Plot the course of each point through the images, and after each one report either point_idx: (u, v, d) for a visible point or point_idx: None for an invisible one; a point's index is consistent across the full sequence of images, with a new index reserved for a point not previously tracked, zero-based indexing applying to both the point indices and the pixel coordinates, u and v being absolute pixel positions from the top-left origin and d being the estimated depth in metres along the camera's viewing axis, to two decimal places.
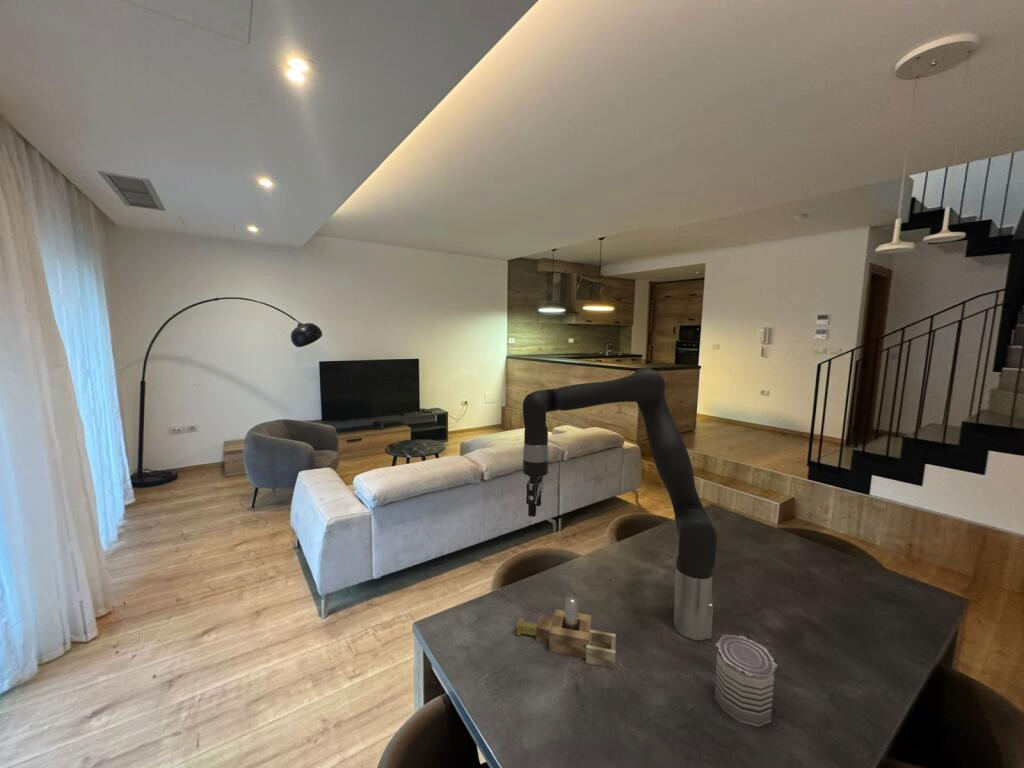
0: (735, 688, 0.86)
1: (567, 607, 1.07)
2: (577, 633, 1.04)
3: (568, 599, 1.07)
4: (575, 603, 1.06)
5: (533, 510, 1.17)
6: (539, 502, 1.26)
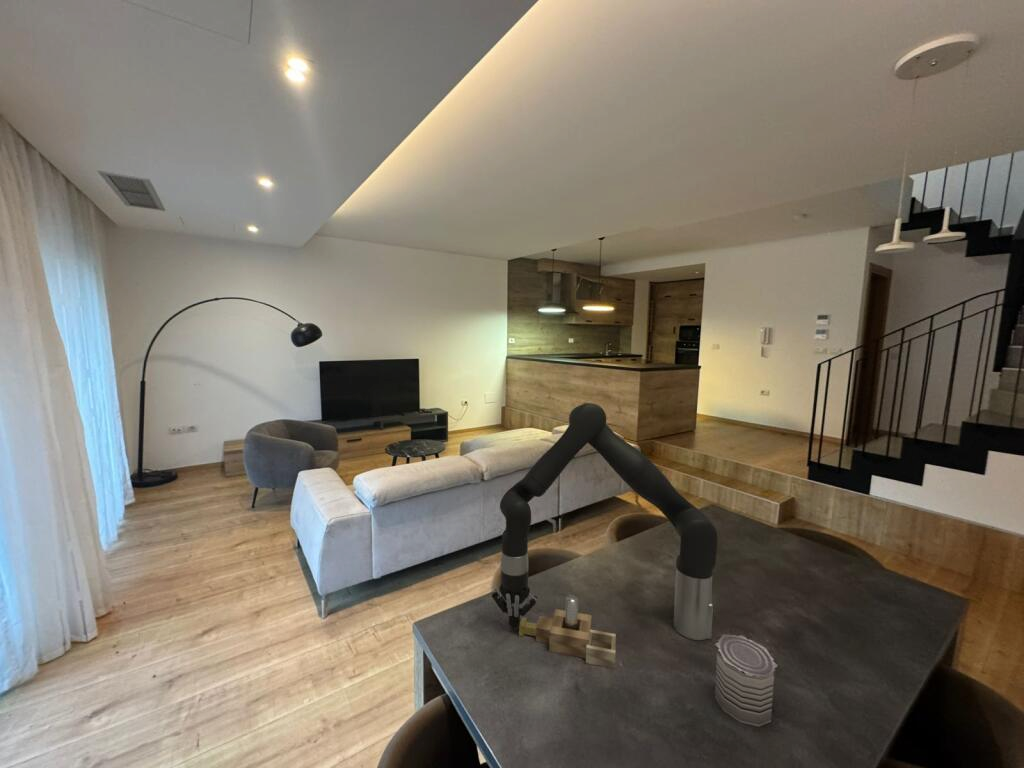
0: (735, 688, 0.86)
1: (567, 607, 1.07)
2: (577, 633, 1.04)
3: (568, 599, 1.07)
4: (575, 603, 1.06)
5: (519, 619, 1.13)
6: None
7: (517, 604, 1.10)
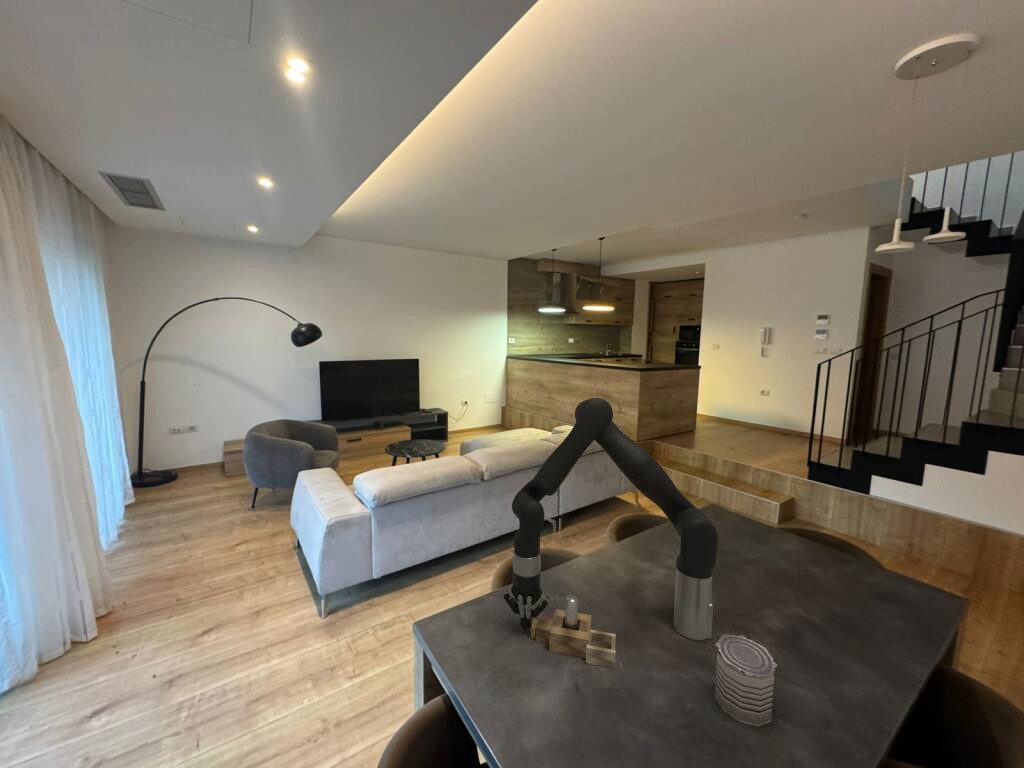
0: (735, 688, 0.86)
1: (567, 607, 1.07)
2: (577, 633, 1.04)
3: (568, 599, 1.07)
4: (575, 603, 1.06)
5: (531, 620, 1.12)
6: None
7: (529, 605, 1.09)
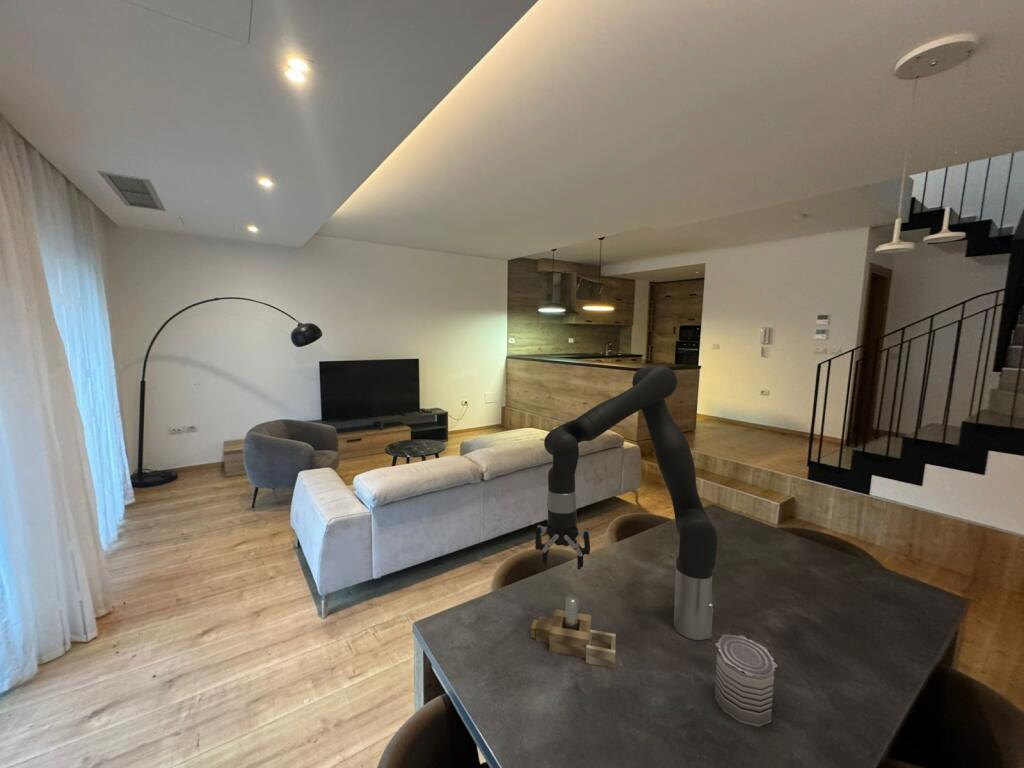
0: (735, 688, 0.86)
1: (567, 607, 1.07)
2: (577, 633, 1.04)
3: (568, 599, 1.07)
4: (575, 603, 1.06)
5: None
6: (548, 559, 1.09)
7: (572, 543, 1.05)
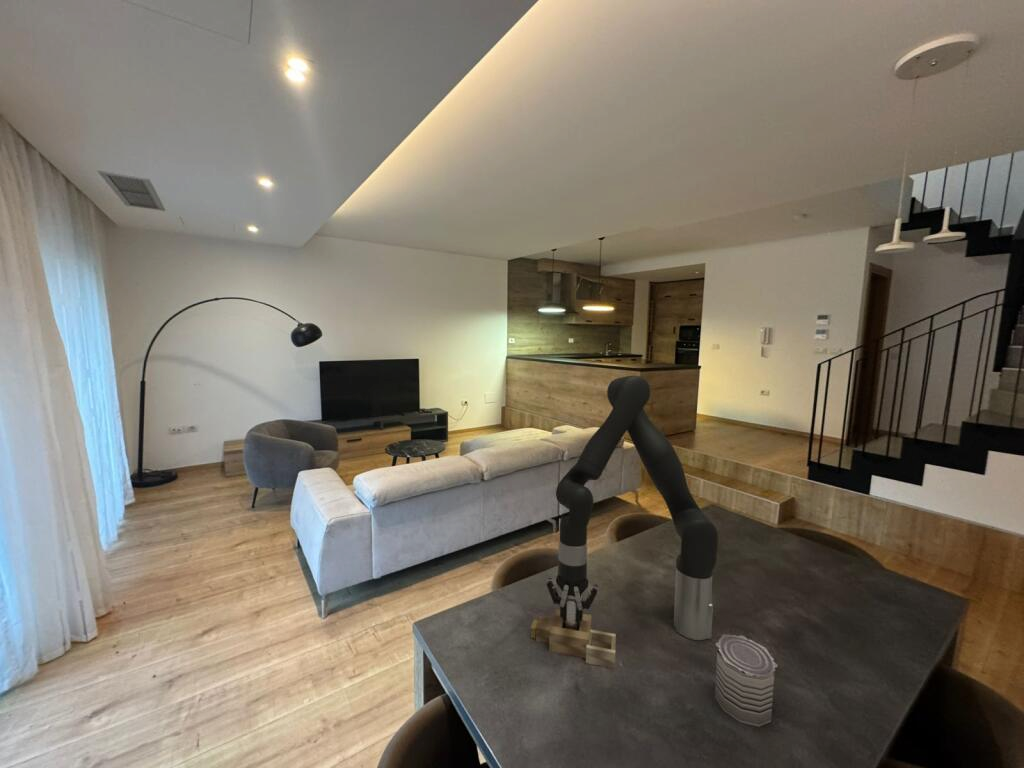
0: (735, 688, 0.86)
1: (567, 607, 1.07)
2: (577, 633, 1.04)
3: (568, 599, 1.07)
4: (575, 603, 1.06)
5: None
6: None
7: (578, 596, 1.05)
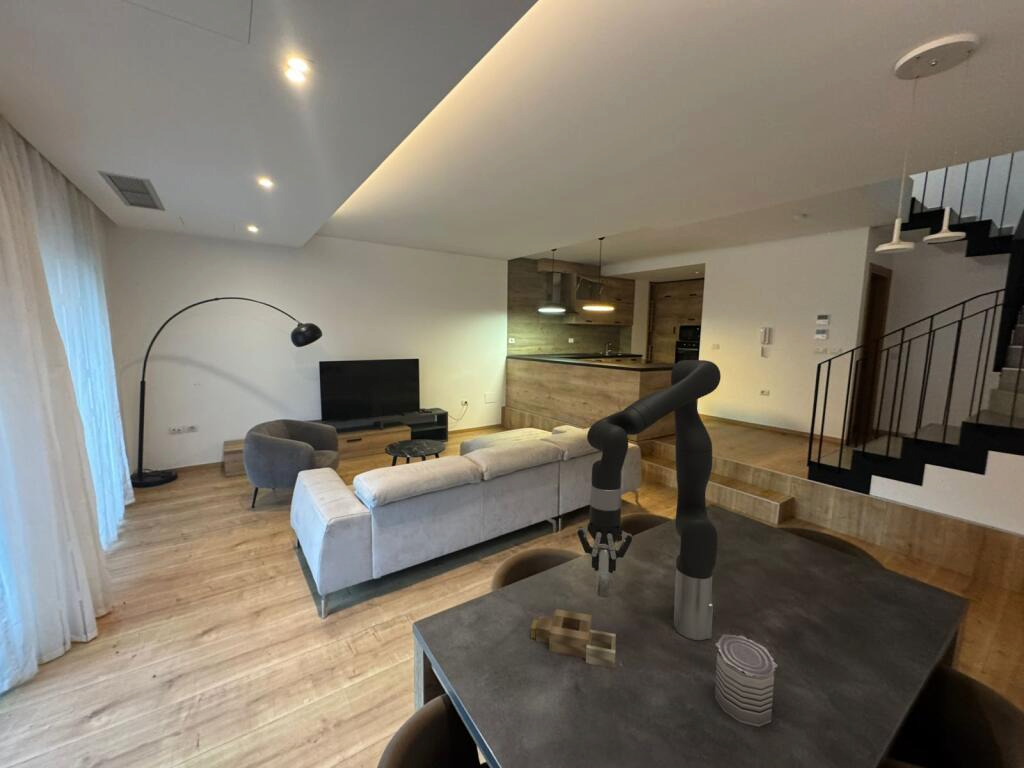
0: (735, 688, 0.86)
1: (600, 556, 1.01)
2: (577, 633, 1.04)
3: (600, 548, 1.01)
4: (608, 552, 1.00)
5: None
6: None
7: (612, 544, 0.99)
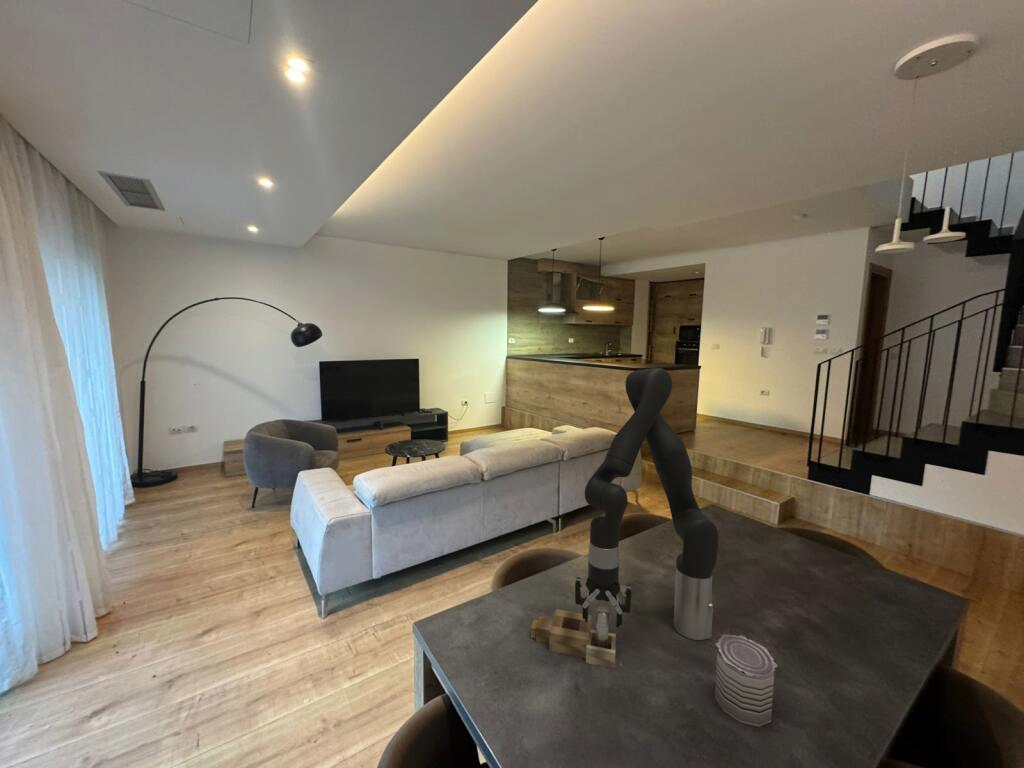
0: (735, 689, 0.86)
1: (598, 620, 1.02)
2: (577, 633, 1.04)
3: (599, 611, 1.02)
4: (606, 616, 1.01)
5: None
6: None
7: (613, 600, 1.00)
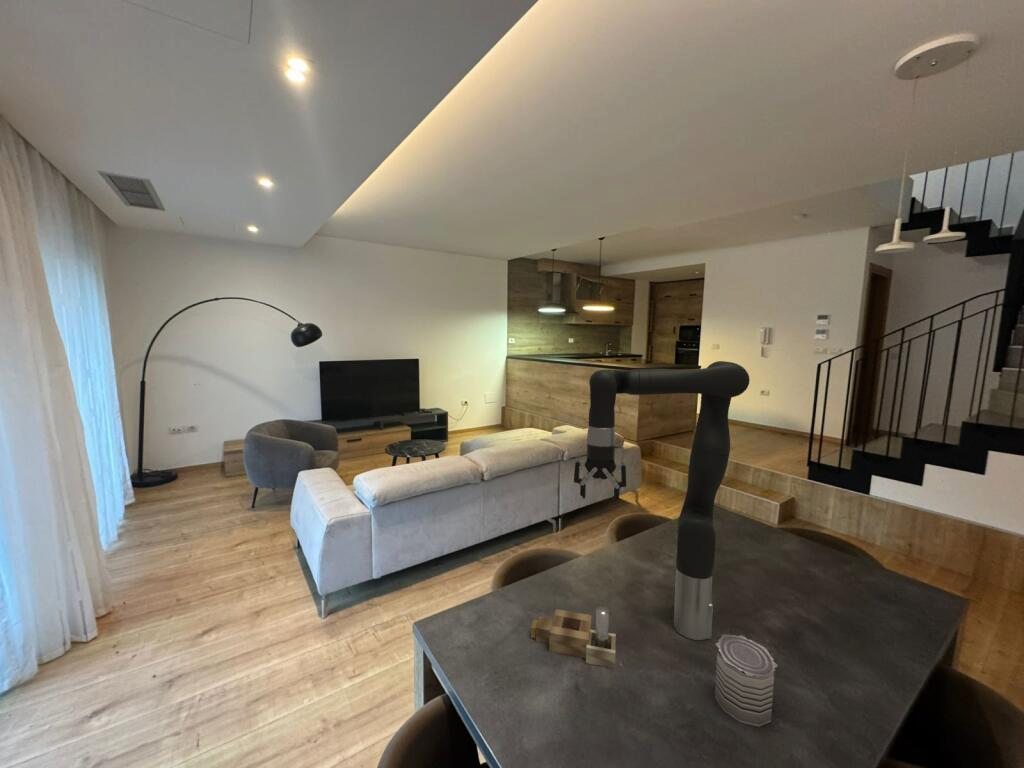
0: (735, 688, 0.86)
1: (598, 620, 1.02)
2: (577, 633, 1.04)
3: (599, 611, 1.02)
4: (606, 615, 1.01)
5: None
6: (585, 492, 1.15)
7: (610, 476, 1.11)
